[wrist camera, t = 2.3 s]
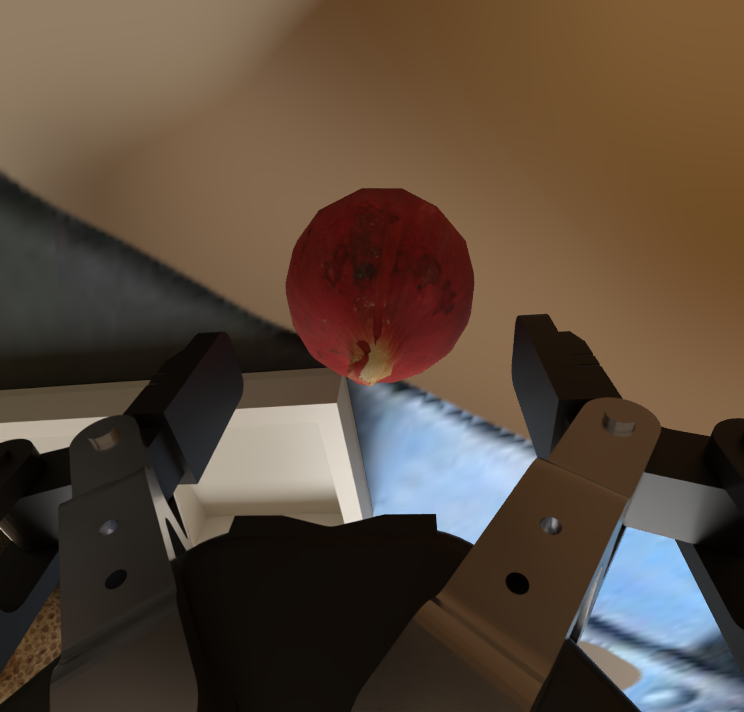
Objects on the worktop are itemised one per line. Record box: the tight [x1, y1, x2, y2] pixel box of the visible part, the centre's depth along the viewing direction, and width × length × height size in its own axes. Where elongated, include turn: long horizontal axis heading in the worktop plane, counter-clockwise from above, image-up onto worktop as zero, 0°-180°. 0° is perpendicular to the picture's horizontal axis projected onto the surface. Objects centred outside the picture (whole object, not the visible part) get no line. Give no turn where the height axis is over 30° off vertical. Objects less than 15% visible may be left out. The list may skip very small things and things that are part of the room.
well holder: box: [0, 368, 373, 546], centre depth 23 cm, size 11×21×3 cm, turn 97°
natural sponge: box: [0, 581, 61, 704], centre depth 29 cm, size 9×9×10 cm
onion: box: [286, 188, 474, 386], centre depth 13 cm, size 6×6×8 cm
